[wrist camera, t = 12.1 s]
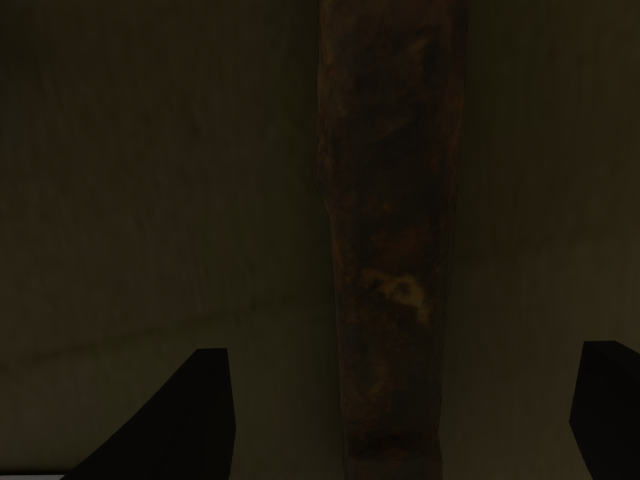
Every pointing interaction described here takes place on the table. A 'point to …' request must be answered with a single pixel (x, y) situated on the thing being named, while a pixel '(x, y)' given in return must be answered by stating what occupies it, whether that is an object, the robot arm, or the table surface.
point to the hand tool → (390, 218)
